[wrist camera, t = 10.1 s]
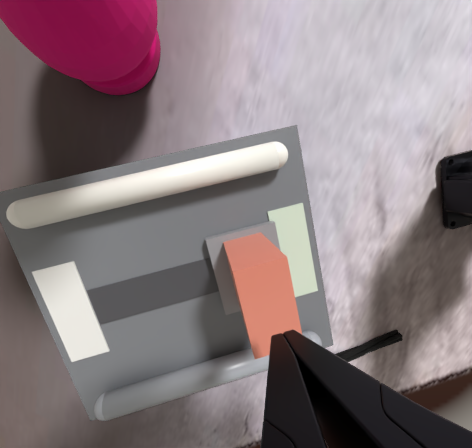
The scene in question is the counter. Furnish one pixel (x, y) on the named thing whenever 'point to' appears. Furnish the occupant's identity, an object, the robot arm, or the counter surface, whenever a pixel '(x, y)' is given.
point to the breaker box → (161, 266)
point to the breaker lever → (255, 282)
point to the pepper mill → (90, 39)
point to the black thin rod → (370, 346)
